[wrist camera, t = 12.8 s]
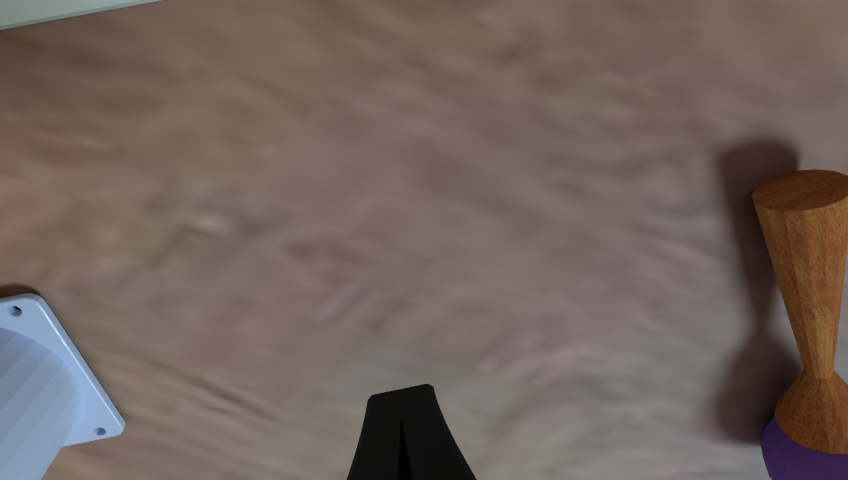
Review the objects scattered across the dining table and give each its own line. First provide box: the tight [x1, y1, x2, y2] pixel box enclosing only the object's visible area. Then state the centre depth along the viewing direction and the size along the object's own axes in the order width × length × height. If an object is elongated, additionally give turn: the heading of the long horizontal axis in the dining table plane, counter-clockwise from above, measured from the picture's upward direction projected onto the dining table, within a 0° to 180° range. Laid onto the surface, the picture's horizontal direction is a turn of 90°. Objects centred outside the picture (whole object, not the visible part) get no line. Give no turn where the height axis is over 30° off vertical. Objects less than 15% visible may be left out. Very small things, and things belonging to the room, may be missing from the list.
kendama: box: [751, 170, 848, 480], centre depth 24 cm, size 6×6×20 cm
